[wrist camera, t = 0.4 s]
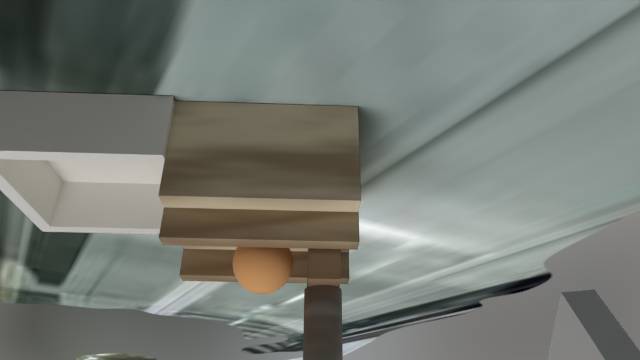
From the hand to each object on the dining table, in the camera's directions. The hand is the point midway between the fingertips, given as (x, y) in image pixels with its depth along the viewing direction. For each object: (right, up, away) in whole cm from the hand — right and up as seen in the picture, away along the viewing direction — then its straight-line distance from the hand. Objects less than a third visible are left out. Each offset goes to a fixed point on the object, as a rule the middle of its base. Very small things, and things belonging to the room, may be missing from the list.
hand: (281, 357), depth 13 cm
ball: (-3, -1, +23) cm, 23 cm away
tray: (-15, +7, +27) cm, 31 cm away
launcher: (-3, +7, +27) cm, 28 cm away
